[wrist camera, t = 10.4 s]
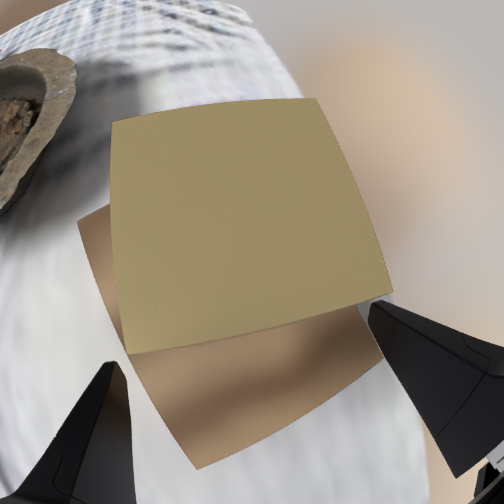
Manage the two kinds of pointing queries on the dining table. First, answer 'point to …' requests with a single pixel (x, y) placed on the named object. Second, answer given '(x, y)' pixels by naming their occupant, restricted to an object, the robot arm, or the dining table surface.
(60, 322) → the dining table surface
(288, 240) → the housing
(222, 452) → the walnut stand
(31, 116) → the stone bowl
